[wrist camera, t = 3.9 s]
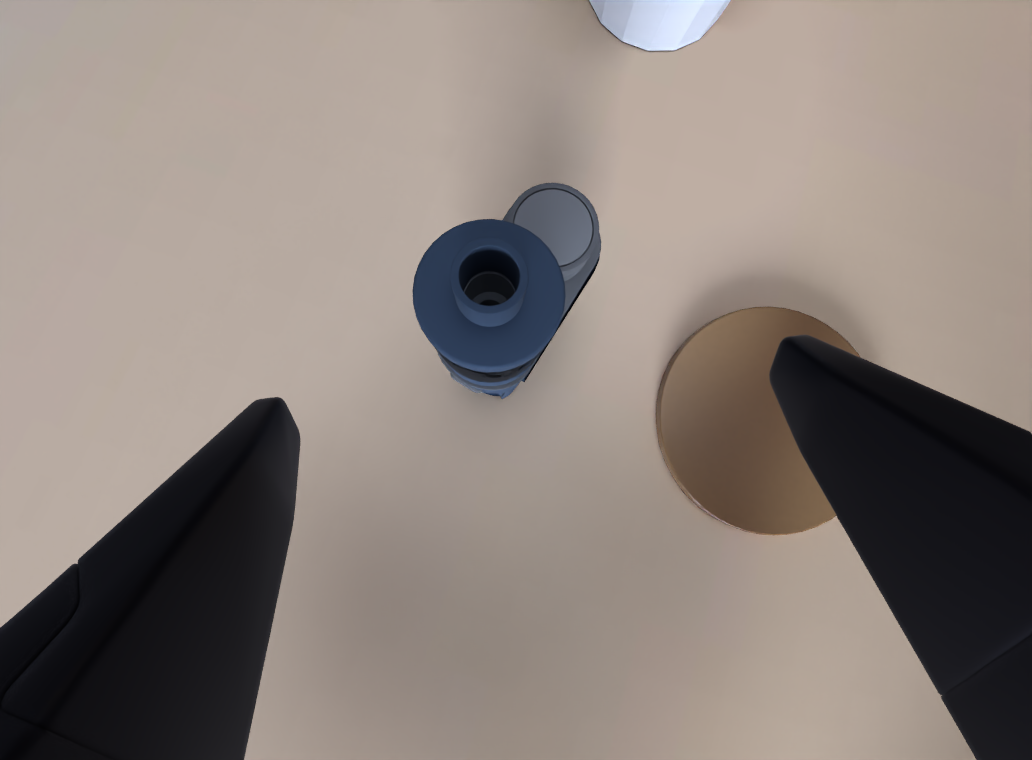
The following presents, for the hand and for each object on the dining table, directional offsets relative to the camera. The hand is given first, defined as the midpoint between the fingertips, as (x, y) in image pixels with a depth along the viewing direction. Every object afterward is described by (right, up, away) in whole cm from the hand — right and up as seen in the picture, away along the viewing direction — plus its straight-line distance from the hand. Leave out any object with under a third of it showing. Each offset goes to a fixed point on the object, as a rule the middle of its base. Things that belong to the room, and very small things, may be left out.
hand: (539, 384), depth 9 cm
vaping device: (-1, +2, +10) cm, 10 cm away
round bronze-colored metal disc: (+9, -1, +10) cm, 13 cm away
